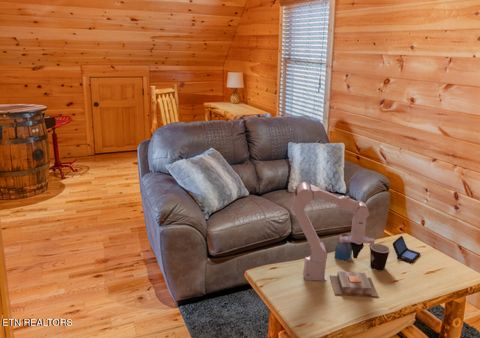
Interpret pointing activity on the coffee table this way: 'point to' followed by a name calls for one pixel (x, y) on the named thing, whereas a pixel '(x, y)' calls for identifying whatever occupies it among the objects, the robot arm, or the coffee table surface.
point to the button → (353, 279)
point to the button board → (338, 292)
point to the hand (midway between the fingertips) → (354, 257)
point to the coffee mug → (378, 256)
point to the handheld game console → (404, 251)
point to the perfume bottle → (343, 250)
